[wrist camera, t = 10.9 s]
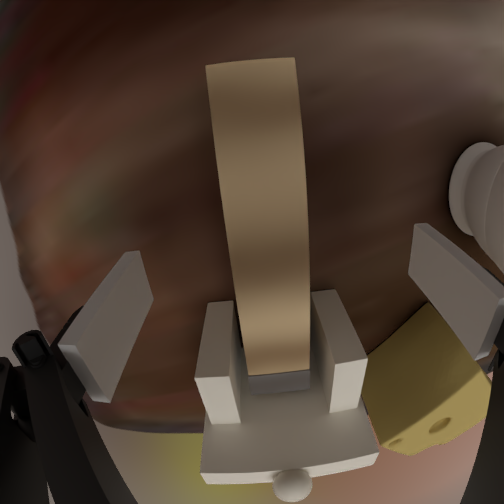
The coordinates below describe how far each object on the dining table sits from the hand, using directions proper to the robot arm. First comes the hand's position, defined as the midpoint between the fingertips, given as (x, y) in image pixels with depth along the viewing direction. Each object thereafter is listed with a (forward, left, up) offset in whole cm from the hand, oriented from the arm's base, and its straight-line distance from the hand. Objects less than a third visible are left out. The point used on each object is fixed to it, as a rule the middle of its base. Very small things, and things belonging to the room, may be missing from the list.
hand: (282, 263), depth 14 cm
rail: (+1, 0, -8) cm, 8 cm away
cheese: (+16, +14, -8) cm, 22 cm away
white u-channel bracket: (+11, 0, -8) cm, 13 cm away
